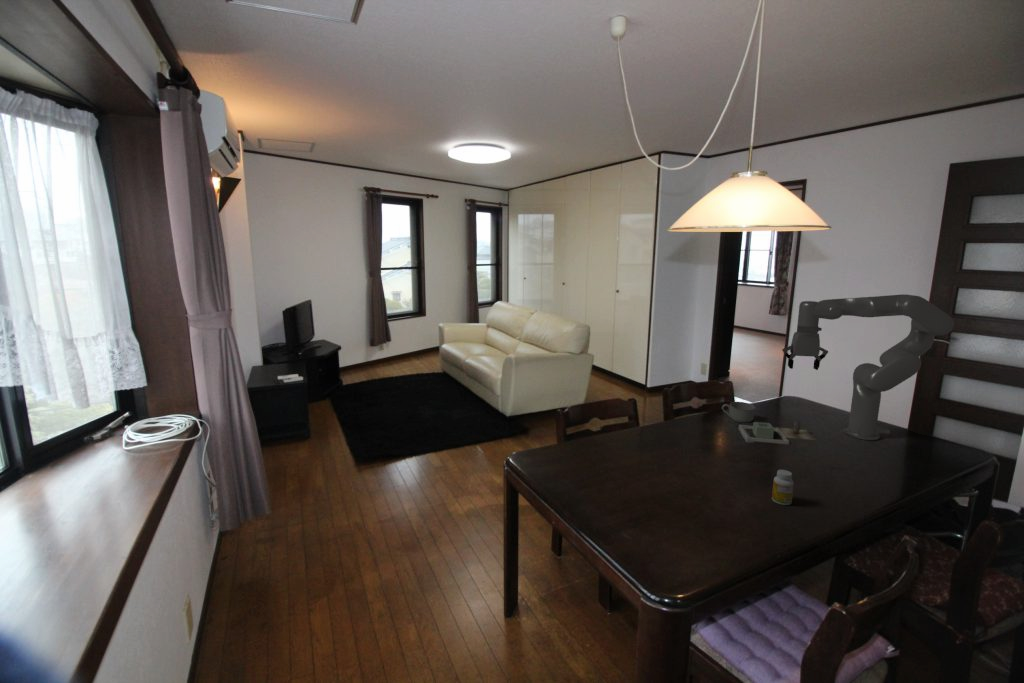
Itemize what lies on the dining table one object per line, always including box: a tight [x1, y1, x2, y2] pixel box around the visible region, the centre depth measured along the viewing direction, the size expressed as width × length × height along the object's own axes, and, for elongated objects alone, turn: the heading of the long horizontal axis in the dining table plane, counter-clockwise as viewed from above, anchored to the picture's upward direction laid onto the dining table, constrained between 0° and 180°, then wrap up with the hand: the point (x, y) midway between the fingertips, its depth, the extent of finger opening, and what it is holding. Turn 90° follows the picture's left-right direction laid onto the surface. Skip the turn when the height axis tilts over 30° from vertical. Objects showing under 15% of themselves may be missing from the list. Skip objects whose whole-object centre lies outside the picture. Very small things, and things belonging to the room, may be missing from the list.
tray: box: [738, 424, 790, 445], centre depth 193 cm, size 16×16×2 cm
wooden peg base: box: [776, 420, 817, 441], centre depth 195 cm, size 12×12×6 cm
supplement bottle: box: [771, 469, 795, 506], centre depth 141 cm, size 5×5×10 cm
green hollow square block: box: [752, 421, 775, 439], centre depth 193 cm, size 6×6×5 cm
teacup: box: [721, 401, 756, 424], centre depth 213 cm, size 14×11×8 cm
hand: (803, 368), depth 197 cm, fingers open, 9 cm apart
